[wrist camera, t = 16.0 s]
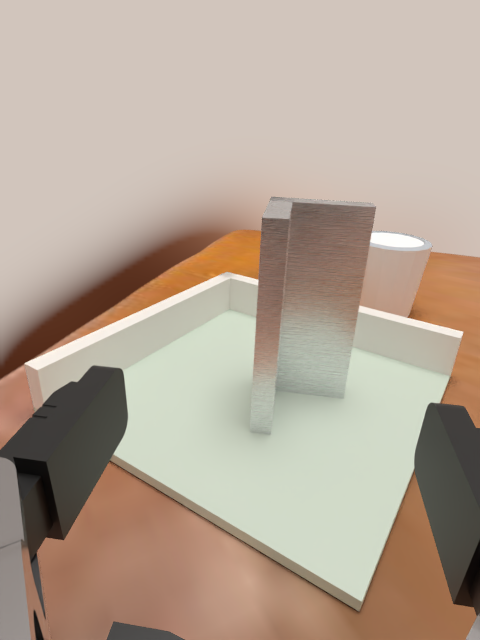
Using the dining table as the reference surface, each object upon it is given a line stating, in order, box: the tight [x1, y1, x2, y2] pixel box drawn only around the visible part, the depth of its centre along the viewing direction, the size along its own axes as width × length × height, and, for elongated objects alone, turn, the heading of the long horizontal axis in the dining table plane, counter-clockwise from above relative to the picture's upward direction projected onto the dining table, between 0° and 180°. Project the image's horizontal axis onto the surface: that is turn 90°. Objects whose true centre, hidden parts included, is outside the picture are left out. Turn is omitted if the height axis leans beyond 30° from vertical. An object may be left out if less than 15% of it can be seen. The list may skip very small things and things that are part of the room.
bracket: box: [250, 197, 376, 435], centre depth 24 cm, size 6×6×12 cm
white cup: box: [359, 231, 432, 318], centre depth 41 cm, size 7×7×7 cm
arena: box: [25, 272, 463, 612], centre depth 28 cm, size 20×20×4 cm
